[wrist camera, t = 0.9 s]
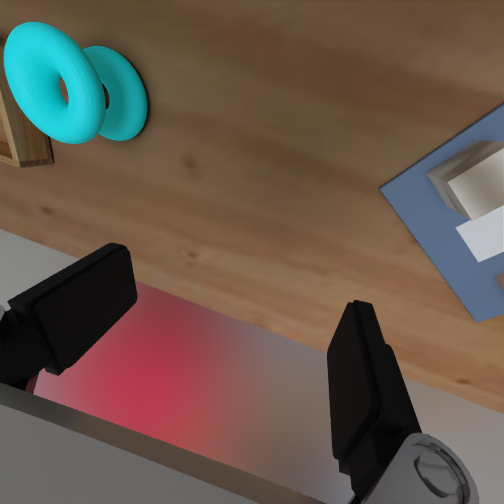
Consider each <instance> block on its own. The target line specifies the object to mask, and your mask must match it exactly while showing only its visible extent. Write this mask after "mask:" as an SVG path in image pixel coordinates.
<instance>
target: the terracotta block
mask: <svg viewBox="0 0 504 504" xmlns="http://www.w3.org/2000/svg"><path fill="white" fill-rule="evenodd" d="M494 278H495V279H496V281H497V282H498V284H499V285H500V287H501V288H502V290H503V291H504V273H501V274H499V275H496V276H494Z"/></svg>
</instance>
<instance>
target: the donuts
mask: <svg viewBox="0 0 504 504" xmlns="http://www.w3.org/2000/svg"><path fill="white" fill-rule="evenodd" d="M4 68H5V73H6V77H7V81H8V84H9V87H10V89H11V91H12V94H13V96H14V98H15V100H16V102H17V103H18V105H19V106H20V108H21V109H22V111H23V112H24V114H25V115H26V116H27V117H28V119H29V120H30V121H31V122H32V123H33V124H34V125H35V126H36V127H37V128H38V129H40V130H41V131H42V132H44V133H45V134H46V135H48V136H50V137H52V138H54V139H56V140H58V141H61V142H64V143H69V144H81V143H85V142H87V141H89V140H91V139H93V138H94V137H95V136H96V135H97V134H100V135H102V136H103V137H105V138H108V139H111V140H115V141H125V140H129V139H131V138H133V137H135V136H136V135H137V134H138V133H139V132H140V131H141V129H142V128H143V126H144V123H145V121H146V116H147V98H146V93H145V90H144V87H143V84H142V82H141V80H140V78H139V76H138V74H137V72H136V71H135V69H134V68H133V67H132V65H131V64H130V63H129V62H128V61H127V60H126V59H125V58H124V57H123V56H121V55H120V54H119V53H117V52H116V51H114V50H112V49H109V48H107V47H103V46H90V47H87V48H85V49H83V50H82V48H81V47H80V46H79V45H78V44H77V43H76V42H75V41H74V40H73V39H72V38H70V37H69V36H68V35H66V34H65V33H63V32H62V31H60V30H59V29H57V28H55V27H53V26H50V25H48V24H45V23H40V22H27V23H23V24H21V25H19V26H17V27H16V28H14V29H13V30H12V32H11V33H10V35H9V36H8V38H7V41H6V44H5V49H4ZM61 77H62V78H63V79H64V82H65V84H66V87H67V90H68V96H69V103H68V104H67V102H66V101H65V100H64V98H63V96H62V94H61V91H60V79H61ZM102 84H104V85H105V87H106V88H107V90H108V93H109V96H110V105H109V107H108V109H106V101H105V94H104V90H103V86H102Z"/></svg>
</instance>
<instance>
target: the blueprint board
mask: <svg viewBox="0 0 504 504" xmlns="http://www.w3.org/2000/svg"><path fill="white" fill-rule="evenodd" d="M476 140H485V141H499V142H504V103H502V104H501V105H499V106H498V107H496V108H495V109H493V110H492V111H491V112H489V113H488V114H486V115H485V116H483V117H482V118H480V119H479V120H477V121H476V122H474V123H473V124H472V125H470V126H469V127H467V128H466V129H464V130H463V131H461V132H460V133H458V134H457V135H455V136H454V137H453V138H451V139H450V140H448V141H447V142H445V143H444V144H442V145H441V146H439V147H438V148H437V149H435V150H434V151H432V152H431V153H429V154H428V155H426V156H425V157H423V158H422V159H420V160H419V161H418V162H416V163H415V164H413V165H412V166H410V167H409V168H407V169H406V170H404V171H403V172H401V173H400V174H399V175H397V176H396V177H394V178H393V179H391V180H390V181H388V182H387V183H385V184H384V185H383V186H381V187H380V188H379V189H380V191H381V192H382V194H383V195H384V196H385V198H386V199H387V200H388V202H389V203H390V205H391V206H392V207H393V209H394V210H395V211H396V213H397V214H398V216H399V217H400V218H401V220H402V221H403V222H404V224H405V225H406V227H407V228H408V229H409V231H410V232H411V233H412V235H413V236H414V238H415V239H416V240H417V242H418V243H419V244H420V246H421V247H422V248H423V250H424V251H425V253H426V254H427V255H428V257H429V258H430V259H431V261H432V262H433V264H434V265H435V266H436V268H437V269H438V270H439V272H440V273H441V275H442V276H443V277H444V279H445V280H446V281H447V283H448V284H449V286H450V287H451V288H452V290H453V291H454V292H455V294H456V295H457V297H458V298H459V299H460V301H461V302H462V303H463V305H464V306H465V308H466V309H467V310H468V312H469V313H470V314H471V316H472V317H473V319H474V320H475V321H476V322H480V321H483V320H486V319H489V318H492V317H495V316H498V315H501V314H504V291H503V290H502V288H501V287H500V285H499V284H498V282H497V281H496V279H495V278H494V276H496V275H499V274H501V273H504V205H503V206H501V207H499V208H497V209H495V210H493V211H491V212H490V213H488V214H486V215H484V216H482V217H480V218H478V219H476V220H474V221H471V220H470V219H468V218H466V217H465V216H463V215H461V214H459V213H458V212H456V211H454V210H453V209H451V208H449V207H448V206H447V205H446V204H445V202H444V201H443V199H442V198H441V196H440V195H439V193H438V192H437V190H436V188H435V187H434V185H433V184H432V182H431V181H430V179H429V178H428V176H427V175H426V173H427V172H428V171H430V170H431V169H433V168H434V167H436V166H438V165H439V164H441V163H442V162H444V161H445V160H447V159H448V158H450V157H451V156H453V155H454V154H456V153H457V152H459V151H461V150H462V149H464V148H465V147H467V146H468V145H470V144H471V143H473V142H474V141H476Z"/></svg>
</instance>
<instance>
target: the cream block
mask: <svg viewBox="0 0 504 504" xmlns="http://www.w3.org/2000/svg"><path fill="white" fill-rule="evenodd" d="M426 175H427V176H428V178H429V179H430V181H431V182H432V184H433V185H434V187H435V188H436V190H437V192H438V193H439V195H440V196H441V198H442V199H443V201H444V202H445V204H446V205H447V206H448V207H449V208H451V209H453V210H454V211H456V212H458V213H459V214H461V215H463V216H465V217H466V218H468V219H470V220H471V221H474V220H476V219H478V218H480V217H482V216H484V215H486V214H488V213H490V212H491V211H493V210H495V209H497V208H499V207H501V206H503V205H504V142H499V141H485V140H476V141H474V142H473V143H471V144H470V145H468V146H467V147H465V148H464V149H462V150H461V151H459V152H457V153H456V154H454V155H453V156H451V157H450V158H448V159H447V160H445V161H444V162H442V163H441V164H439V165H438V166H436V167H434V168H433V169H431V170H430V171H428V172H427V173H426Z"/></svg>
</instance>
